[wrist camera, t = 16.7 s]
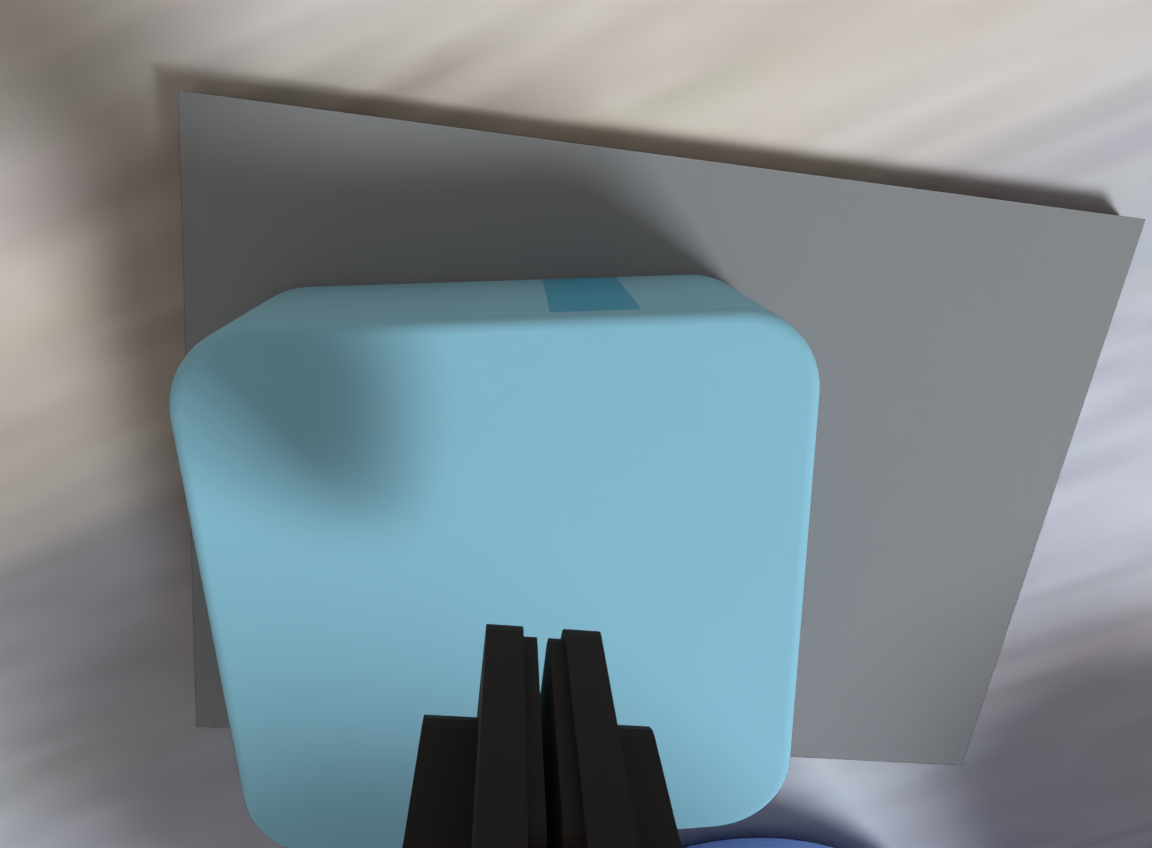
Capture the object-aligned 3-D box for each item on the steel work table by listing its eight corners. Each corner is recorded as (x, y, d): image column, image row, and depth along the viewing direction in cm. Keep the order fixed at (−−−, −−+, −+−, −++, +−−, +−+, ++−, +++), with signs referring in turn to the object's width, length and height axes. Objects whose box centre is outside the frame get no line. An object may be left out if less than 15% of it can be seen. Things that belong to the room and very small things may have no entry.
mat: (1121, 216, 20) (1145, 219, 19) (947, 746, 25) (961, 765, 24) (193, 93, 17) (177, 90, 17) (207, 707, 22) (196, 726, 22)
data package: (759, 270, 19) (233, 287, 18) (831, 305, 14) (146, 329, 14) (736, 699, 23) (303, 727, 22) (788, 826, 18) (252, 867, 18)
